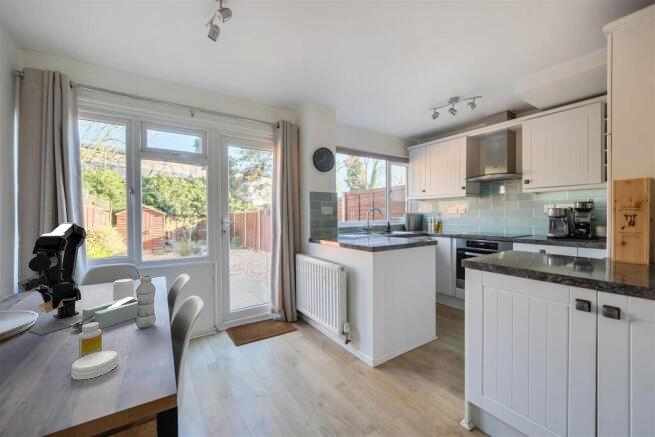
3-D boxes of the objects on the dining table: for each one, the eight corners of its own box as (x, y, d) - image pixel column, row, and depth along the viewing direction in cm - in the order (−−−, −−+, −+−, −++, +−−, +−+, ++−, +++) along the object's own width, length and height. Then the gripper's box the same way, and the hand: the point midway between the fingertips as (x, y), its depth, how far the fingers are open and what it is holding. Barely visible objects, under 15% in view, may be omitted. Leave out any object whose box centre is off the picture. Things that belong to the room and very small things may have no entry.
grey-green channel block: (99, 329, 103) (100, 313, 103) (82, 323, 108) (82, 309, 107) (146, 313, 119) (147, 300, 119) (130, 309, 124) (130, 297, 124)
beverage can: (125, 307, 127) (125, 282, 127) (108, 307, 128) (108, 282, 128) (137, 302, 136) (137, 278, 136) (122, 301, 136) (122, 278, 136)
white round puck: (126, 363, 79) (126, 351, 79) (90, 383, 70) (90, 370, 70) (100, 359, 82) (100, 348, 82) (61, 378, 72) (61, 365, 72)
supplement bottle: (105, 352, 85) (106, 322, 85) (85, 361, 80) (86, 329, 80) (94, 349, 87) (94, 320, 87) (74, 357, 82) (74, 326, 82)
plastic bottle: (159, 325, 107) (159, 275, 107) (141, 331, 101) (142, 279, 101) (149, 322, 110) (149, 274, 110) (131, 328, 104) (132, 277, 104)
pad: (28, 331, 100) (28, 330, 100) (60, 322, 108) (60, 321, 108) (40, 335, 97) (40, 334, 97) (72, 326, 105) (72, 325, 105)
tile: (40, 311, 102) (37, 305, 101) (56, 303, 106) (54, 298, 105) (46, 313, 100) (44, 307, 99) (63, 305, 104) (61, 300, 103)
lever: (77, 330, 100) (76, 327, 100) (72, 328, 101) (71, 325, 101) (134, 299, 118) (133, 297, 118) (129, 298, 120) (128, 296, 119)
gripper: (9, 268, 99) (9, 310, 99) (34, 273, 91) (33, 318, 92) (50, 264, 109) (49, 301, 109) (75, 267, 102) (74, 308, 102)
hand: (51, 307), depth 103 cm, fingers closed on tile, 5 cm apart
